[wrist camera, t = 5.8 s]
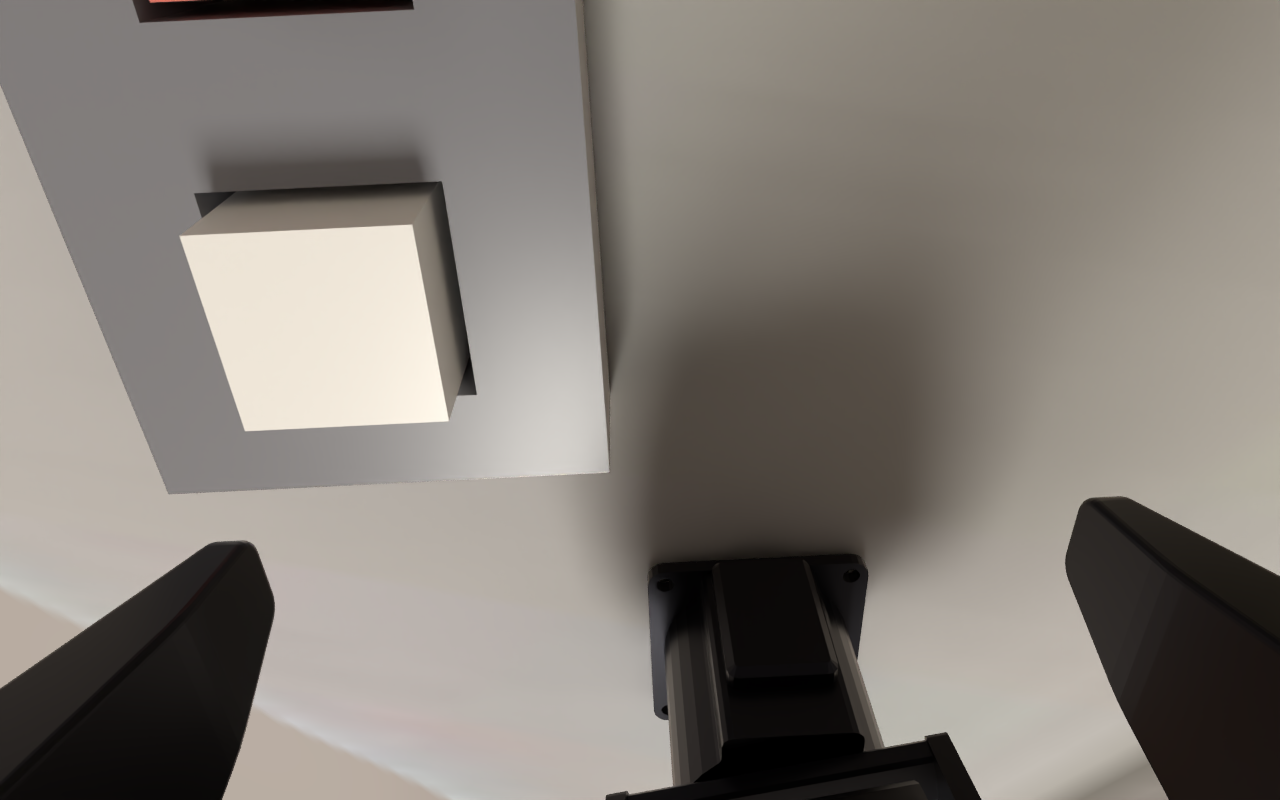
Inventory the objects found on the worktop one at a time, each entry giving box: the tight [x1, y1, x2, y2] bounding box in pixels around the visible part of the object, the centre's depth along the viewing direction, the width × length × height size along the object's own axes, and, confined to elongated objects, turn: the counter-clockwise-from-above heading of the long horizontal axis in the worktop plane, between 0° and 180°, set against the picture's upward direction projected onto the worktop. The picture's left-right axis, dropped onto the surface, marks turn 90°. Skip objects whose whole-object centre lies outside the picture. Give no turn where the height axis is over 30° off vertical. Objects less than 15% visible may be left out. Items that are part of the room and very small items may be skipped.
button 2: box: [180, 181, 470, 431], centre depth 17 cm, size 4×4×3 cm
